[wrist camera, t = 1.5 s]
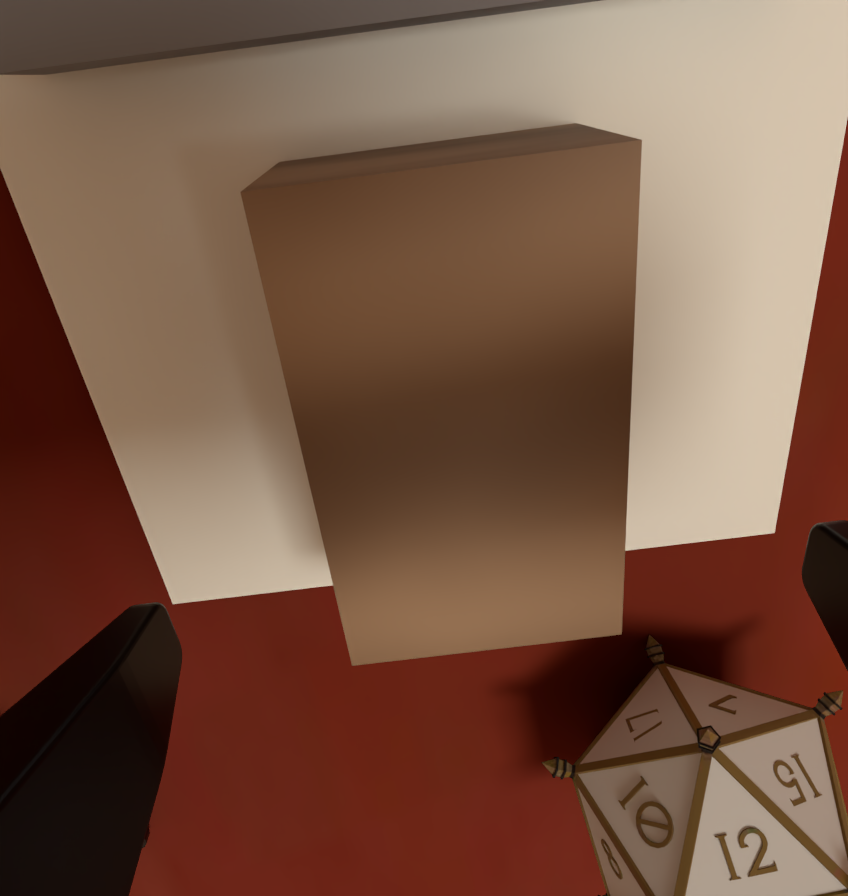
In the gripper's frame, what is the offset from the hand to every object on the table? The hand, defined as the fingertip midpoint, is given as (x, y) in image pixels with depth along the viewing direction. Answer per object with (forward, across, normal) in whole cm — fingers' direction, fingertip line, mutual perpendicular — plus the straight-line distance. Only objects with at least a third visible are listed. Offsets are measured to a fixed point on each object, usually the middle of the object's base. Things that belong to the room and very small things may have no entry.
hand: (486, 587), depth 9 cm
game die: (+8, -6, +13) cm, 17 cm away
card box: (+8, 0, 0) cm, 8 cm away
